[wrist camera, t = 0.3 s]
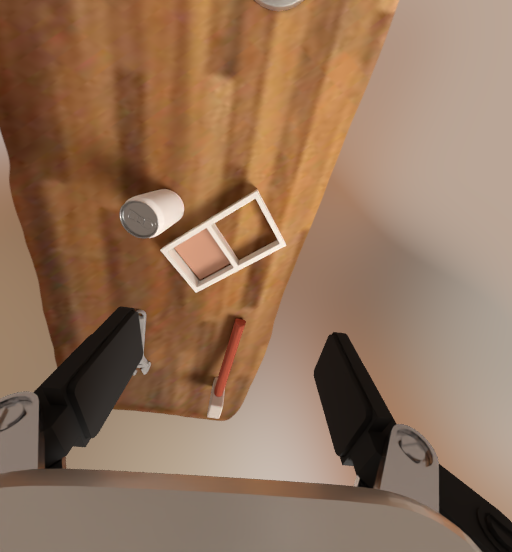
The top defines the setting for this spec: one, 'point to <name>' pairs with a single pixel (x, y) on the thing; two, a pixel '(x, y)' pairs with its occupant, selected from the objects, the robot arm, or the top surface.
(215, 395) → the mallet
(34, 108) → the top surface
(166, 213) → the can
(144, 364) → the adjustable wrench
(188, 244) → the caddy
